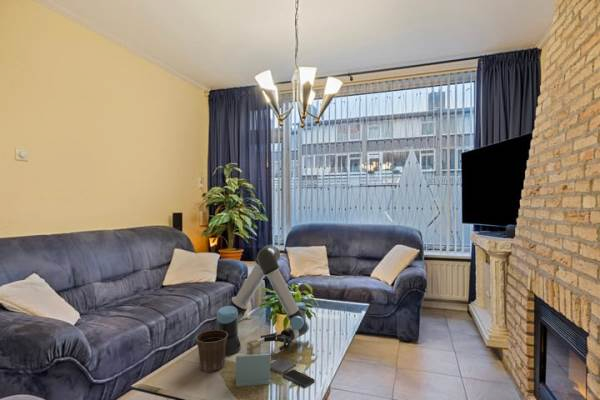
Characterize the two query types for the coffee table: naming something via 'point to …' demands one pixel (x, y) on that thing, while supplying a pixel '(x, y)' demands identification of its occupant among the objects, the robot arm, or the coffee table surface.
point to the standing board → (252, 369)
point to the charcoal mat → (281, 365)
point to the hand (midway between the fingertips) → (265, 347)
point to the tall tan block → (253, 347)
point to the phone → (299, 378)
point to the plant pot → (212, 349)
